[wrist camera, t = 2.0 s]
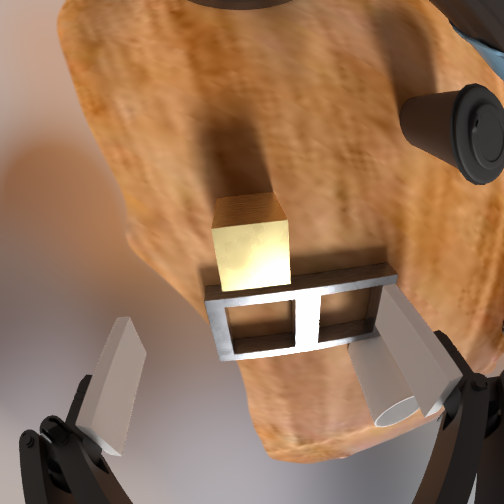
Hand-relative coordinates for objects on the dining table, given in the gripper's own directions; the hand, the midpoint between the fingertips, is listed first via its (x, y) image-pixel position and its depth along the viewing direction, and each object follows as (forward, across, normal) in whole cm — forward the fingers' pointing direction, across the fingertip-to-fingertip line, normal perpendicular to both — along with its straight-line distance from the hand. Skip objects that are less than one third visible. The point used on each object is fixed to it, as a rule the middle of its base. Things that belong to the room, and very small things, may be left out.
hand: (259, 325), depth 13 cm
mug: (+14, +15, -20) cm, 29 cm away
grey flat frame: (+14, +5, -11) cm, 18 cm away
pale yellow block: (+14, 0, 0) cm, 14 cm away
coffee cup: (+14, +18, +9) cm, 25 cm away
